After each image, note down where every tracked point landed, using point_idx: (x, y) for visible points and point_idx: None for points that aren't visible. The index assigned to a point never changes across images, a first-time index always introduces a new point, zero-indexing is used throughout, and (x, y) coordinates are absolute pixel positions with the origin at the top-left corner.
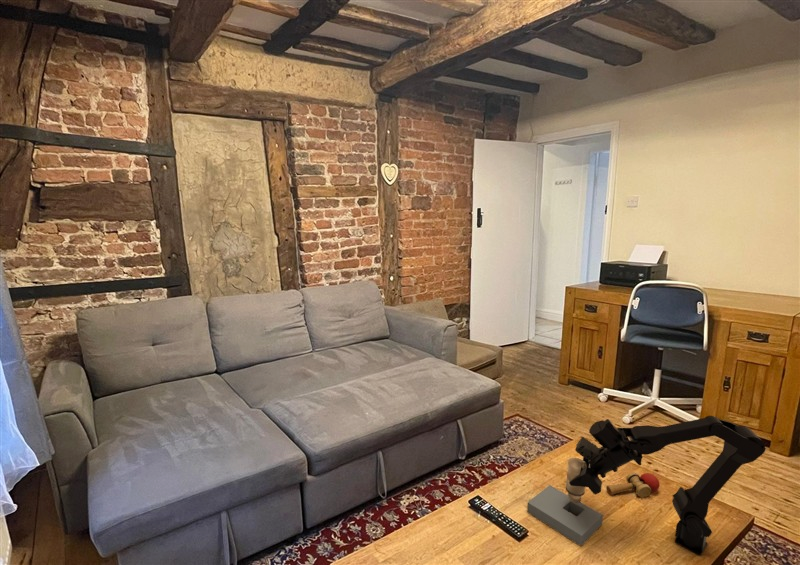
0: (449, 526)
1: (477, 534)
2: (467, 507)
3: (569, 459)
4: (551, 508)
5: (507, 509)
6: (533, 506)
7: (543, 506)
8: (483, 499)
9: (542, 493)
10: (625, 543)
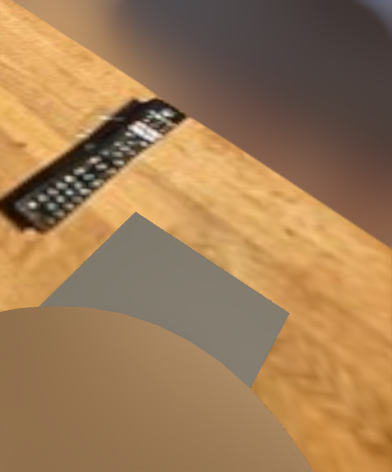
0: (56, 69)
1: (27, 114)
2: (130, 97)
3: (188, 368)
4: (107, 304)
5: (141, 180)
6: (115, 232)
7: (117, 270)
8: (172, 126)
9: (210, 273)
10: None
